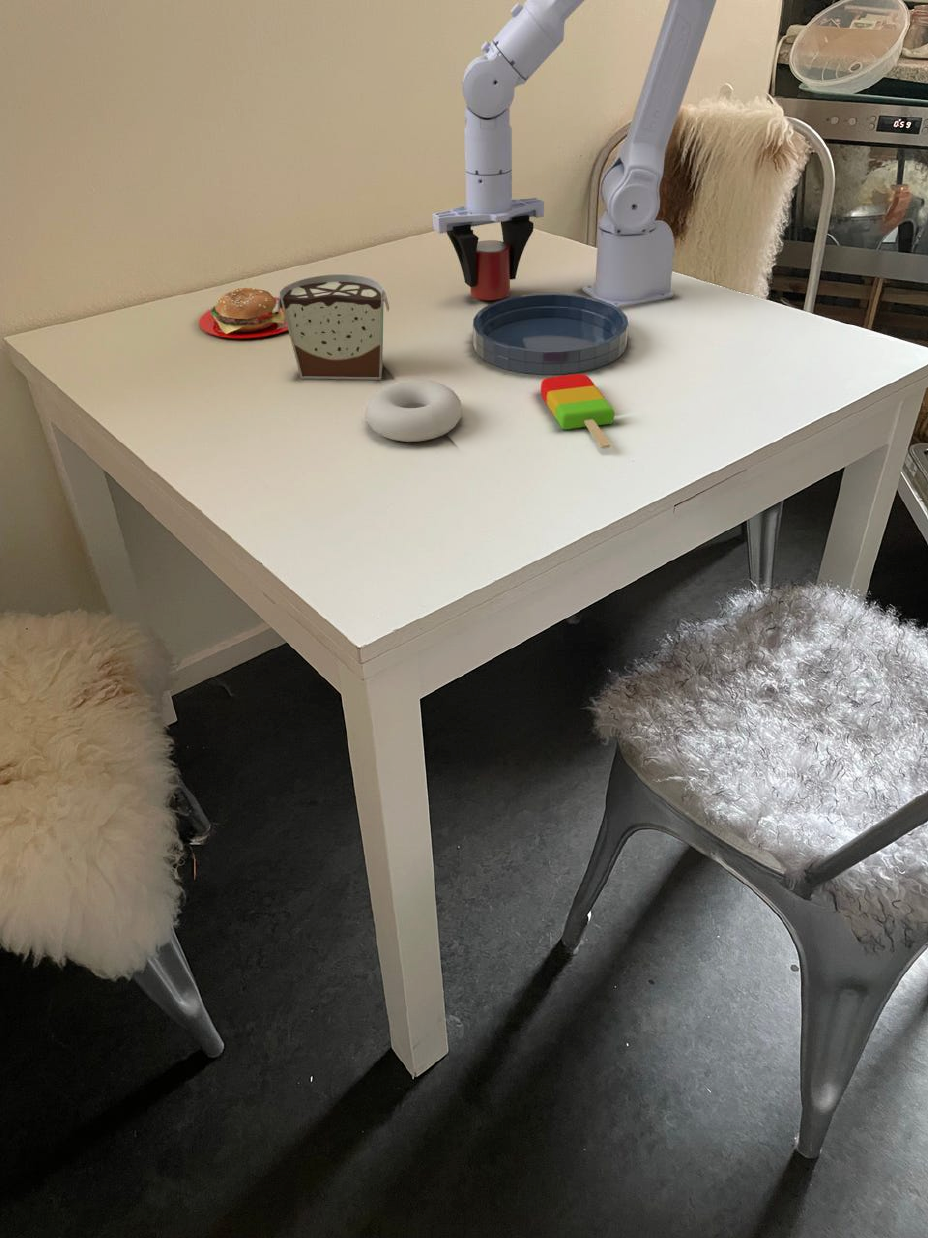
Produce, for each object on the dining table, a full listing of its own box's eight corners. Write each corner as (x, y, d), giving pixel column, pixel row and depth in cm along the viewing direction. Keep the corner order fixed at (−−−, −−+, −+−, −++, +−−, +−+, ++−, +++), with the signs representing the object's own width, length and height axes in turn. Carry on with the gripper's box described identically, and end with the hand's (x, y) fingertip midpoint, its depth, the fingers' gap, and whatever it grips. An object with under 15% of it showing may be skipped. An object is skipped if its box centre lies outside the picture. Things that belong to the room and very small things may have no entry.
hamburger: (323, 326, 122) (317, 279, 118) (215, 349, 117) (205, 300, 113) (289, 292, 132) (282, 248, 128) (188, 312, 127) (178, 266, 123)
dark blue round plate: (579, 306, 124) (580, 283, 123) (655, 358, 111) (658, 333, 109) (450, 332, 119) (449, 308, 117) (514, 389, 106) (514, 363, 104)
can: (499, 283, 130) (499, 237, 126) (516, 295, 126) (516, 248, 122) (464, 289, 128) (463, 243, 124) (480, 302, 124) (479, 254, 121)
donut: (416, 396, 106) (346, 426, 100) (414, 366, 103) (343, 395, 98) (482, 423, 100) (412, 457, 94) (482, 392, 98) (410, 425, 92)
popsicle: (586, 387, 106) (586, 370, 105) (632, 451, 94) (634, 434, 93) (537, 393, 105) (537, 376, 104) (578, 458, 93) (579, 441, 92)
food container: (402, 357, 114) (396, 272, 107) (394, 379, 109) (387, 292, 103) (300, 356, 115) (288, 272, 108) (287, 378, 110) (274, 291, 104)
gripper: (446, 185, 112) (450, 299, 121) (556, 168, 117) (553, 280, 125) (424, 171, 118) (430, 282, 126) (530, 156, 122) (529, 264, 130)
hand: (489, 280), depth 126 cm, fingers closed on can, 5 cm apart
